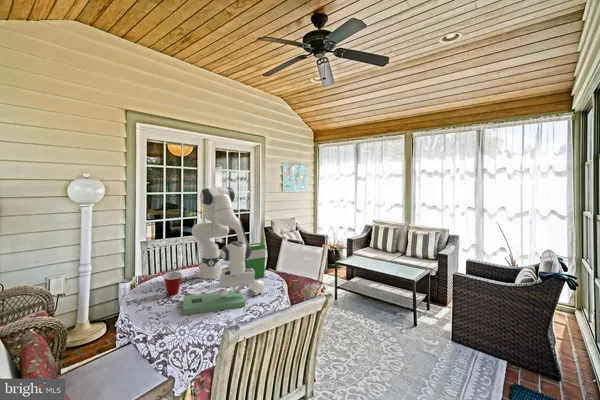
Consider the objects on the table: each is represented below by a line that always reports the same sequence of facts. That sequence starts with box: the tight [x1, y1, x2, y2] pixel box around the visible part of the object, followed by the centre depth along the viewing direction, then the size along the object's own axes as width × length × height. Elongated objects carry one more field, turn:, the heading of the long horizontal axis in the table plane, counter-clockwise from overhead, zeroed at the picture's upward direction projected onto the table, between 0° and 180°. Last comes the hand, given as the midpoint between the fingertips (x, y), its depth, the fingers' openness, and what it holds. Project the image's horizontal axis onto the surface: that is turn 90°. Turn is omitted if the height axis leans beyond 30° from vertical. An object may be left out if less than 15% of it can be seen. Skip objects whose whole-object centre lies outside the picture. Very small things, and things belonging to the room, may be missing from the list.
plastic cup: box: [162, 271, 183, 296], centre depth 175 cm, size 11×11×12 cm
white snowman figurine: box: [248, 279, 265, 296], centre depth 181 cm, size 6×8×12 cm
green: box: [182, 289, 246, 316], centre depth 163 cm, size 18×32×3 cm, turn 112°
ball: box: [221, 289, 229, 298], centre depth 165 cm, size 4×4×4 cm
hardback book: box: [244, 242, 266, 280], centre depth 206 cm, size 18×7×24 cm, turn 127°
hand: (236, 292), depth 168 cm, fingers closed
